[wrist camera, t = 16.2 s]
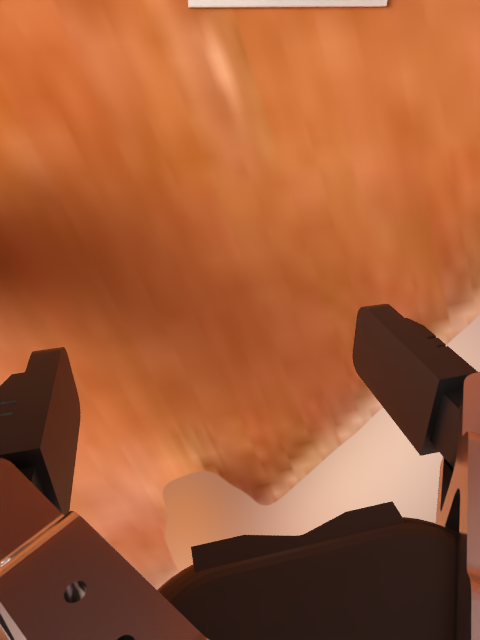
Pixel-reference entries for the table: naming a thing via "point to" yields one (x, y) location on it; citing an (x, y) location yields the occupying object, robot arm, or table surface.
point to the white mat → (284, 3)
